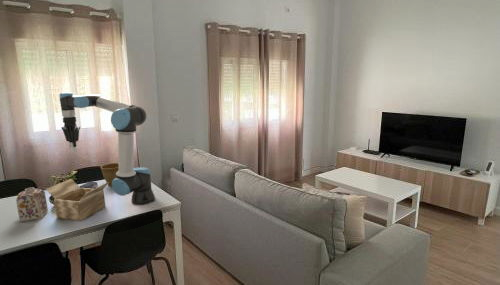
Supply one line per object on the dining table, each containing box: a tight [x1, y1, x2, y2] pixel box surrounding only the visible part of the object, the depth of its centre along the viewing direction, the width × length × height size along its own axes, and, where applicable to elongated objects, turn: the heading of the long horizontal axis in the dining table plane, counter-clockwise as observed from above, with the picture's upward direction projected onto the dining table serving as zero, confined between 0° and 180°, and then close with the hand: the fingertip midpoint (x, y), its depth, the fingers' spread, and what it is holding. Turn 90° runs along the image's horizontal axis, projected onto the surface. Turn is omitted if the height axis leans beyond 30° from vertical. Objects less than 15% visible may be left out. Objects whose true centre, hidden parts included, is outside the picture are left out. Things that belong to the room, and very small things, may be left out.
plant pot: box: [100, 162, 119, 188], centre depth 237 cm, size 15×15×16 cm
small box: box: [78, 181, 99, 189], centre depth 212 cm, size 11×6×10 cm, turn 168°
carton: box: [53, 188, 107, 222], centre depth 189 cm, size 18×21×12 cm
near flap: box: [80, 182, 109, 201], centre depth 184 cm, size 8×19×1 cm
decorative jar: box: [15, 186, 49, 222], centre depth 184 cm, size 12×12×18 cm
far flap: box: [45, 178, 80, 200], centre depth 190 cm, size 8×19×1 cm
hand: (74, 151), depth 203 cm, fingers closed
